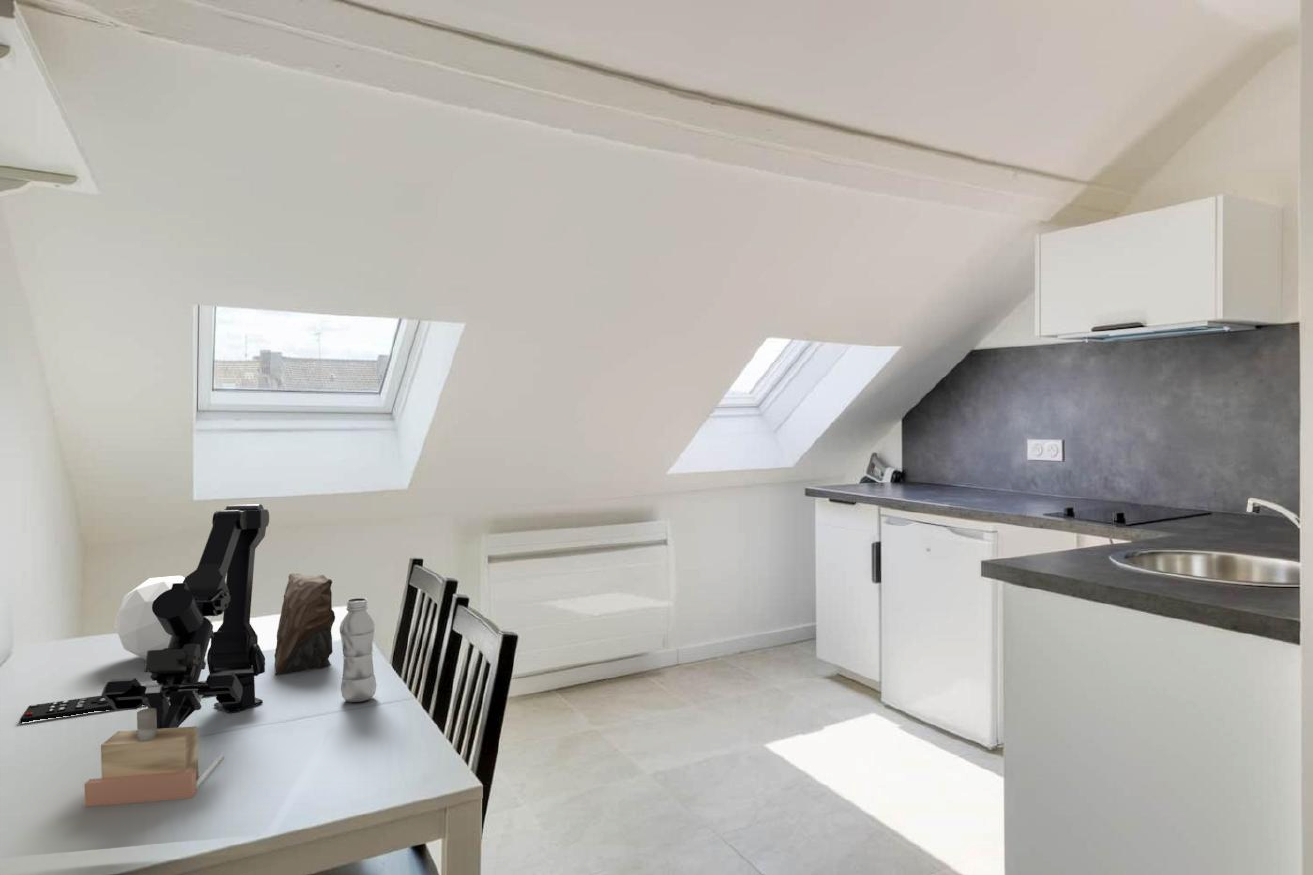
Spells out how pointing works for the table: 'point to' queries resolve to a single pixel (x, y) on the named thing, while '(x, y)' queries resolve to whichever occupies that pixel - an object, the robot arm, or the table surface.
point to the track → (145, 787)
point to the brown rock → (305, 625)
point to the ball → (144, 617)
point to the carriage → (150, 749)
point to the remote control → (69, 708)
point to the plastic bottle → (357, 652)
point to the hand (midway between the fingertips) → (159, 744)
